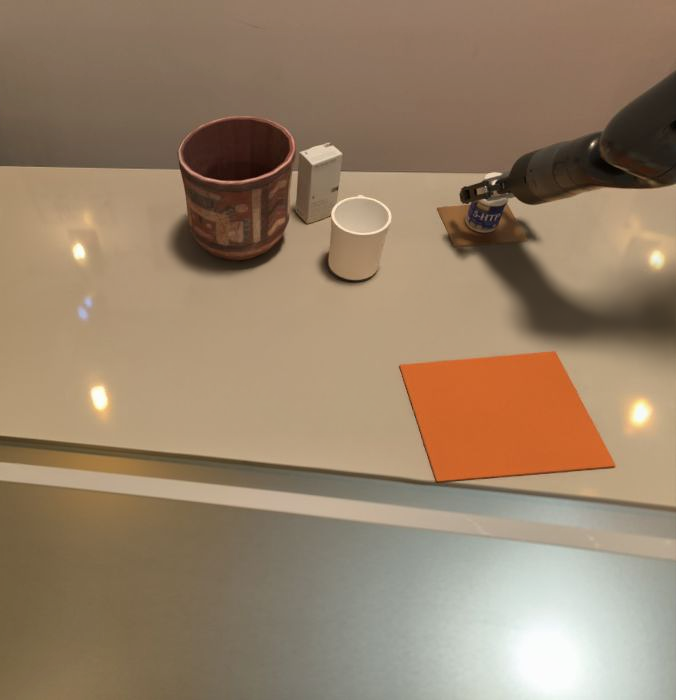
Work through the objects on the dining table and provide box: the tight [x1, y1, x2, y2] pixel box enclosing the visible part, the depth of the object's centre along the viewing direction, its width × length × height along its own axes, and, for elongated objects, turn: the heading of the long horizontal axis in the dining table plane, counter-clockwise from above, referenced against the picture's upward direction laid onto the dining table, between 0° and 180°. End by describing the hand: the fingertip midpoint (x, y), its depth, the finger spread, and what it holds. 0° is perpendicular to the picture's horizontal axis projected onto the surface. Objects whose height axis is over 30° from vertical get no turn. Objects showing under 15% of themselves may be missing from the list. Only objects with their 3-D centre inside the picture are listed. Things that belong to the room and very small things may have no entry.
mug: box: [327, 194, 392, 283], centre depth 96 cm, size 11×9×10 cm
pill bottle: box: [465, 171, 510, 233], centre depth 99 cm, size 5×5×9 cm
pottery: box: [177, 115, 297, 261], centre depth 98 cm, size 18×18×18 cm
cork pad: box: [436, 203, 528, 248], centre depth 103 cm, size 12×10×1 cm
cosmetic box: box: [295, 142, 344, 224], centre depth 103 cm, size 6×4×12 cm
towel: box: [399, 350, 617, 483], centre depth 80 cm, size 22×18×1 cm
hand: (486, 192), depth 100 cm, fingers open, 8 cm apart
